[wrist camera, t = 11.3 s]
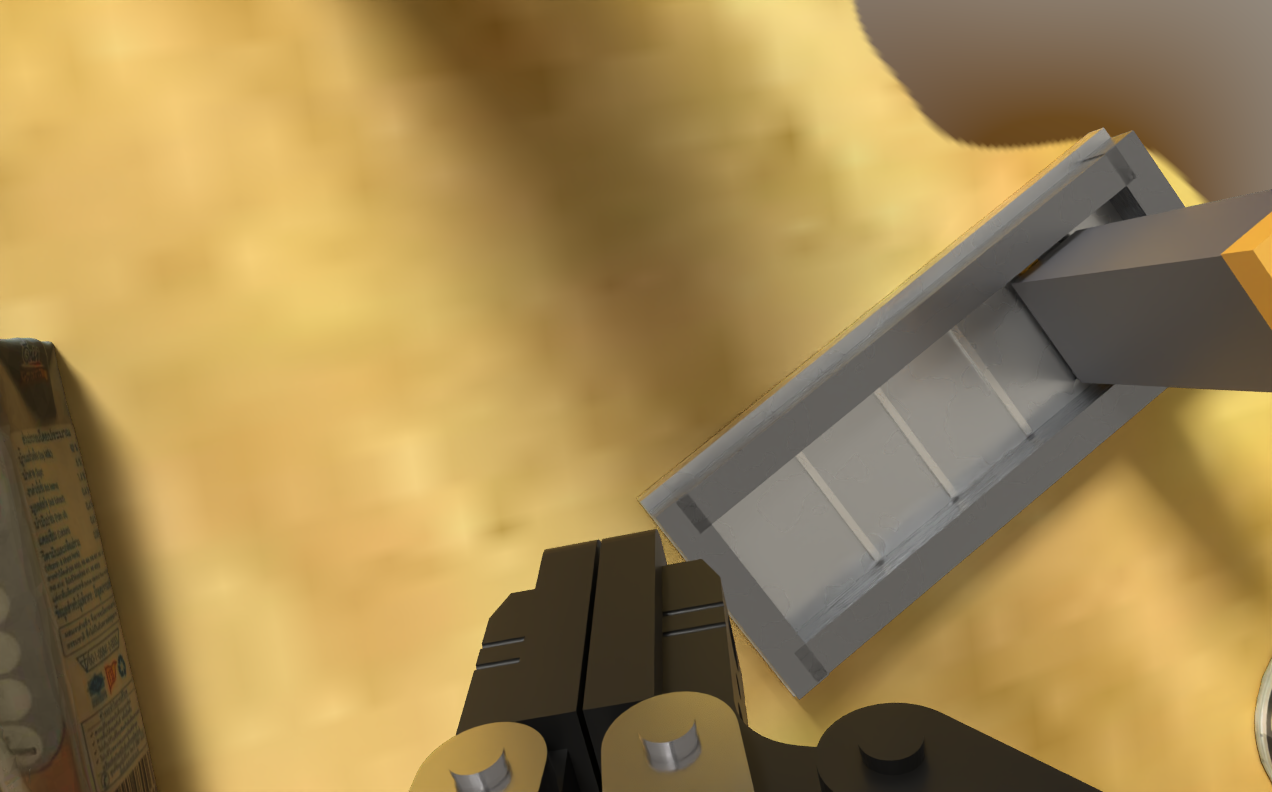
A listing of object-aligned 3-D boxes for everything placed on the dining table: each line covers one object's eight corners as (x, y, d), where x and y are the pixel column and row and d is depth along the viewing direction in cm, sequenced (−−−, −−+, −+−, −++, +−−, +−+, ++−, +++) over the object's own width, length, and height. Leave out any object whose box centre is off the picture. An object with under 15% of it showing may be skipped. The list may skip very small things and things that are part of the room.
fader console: (787, 688, 40) (806, 710, 38) (636, 498, 39) (645, 508, 37) (1219, 324, 42) (1264, 322, 40) (1089, 132, 41) (1127, 118, 39)
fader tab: (1079, 390, 40) (1359, 408, 27) (1003, 283, 40) (1252, 250, 27) (1152, 329, 41) (1463, 318, 28) (1078, 222, 40) (1361, 159, 27)
